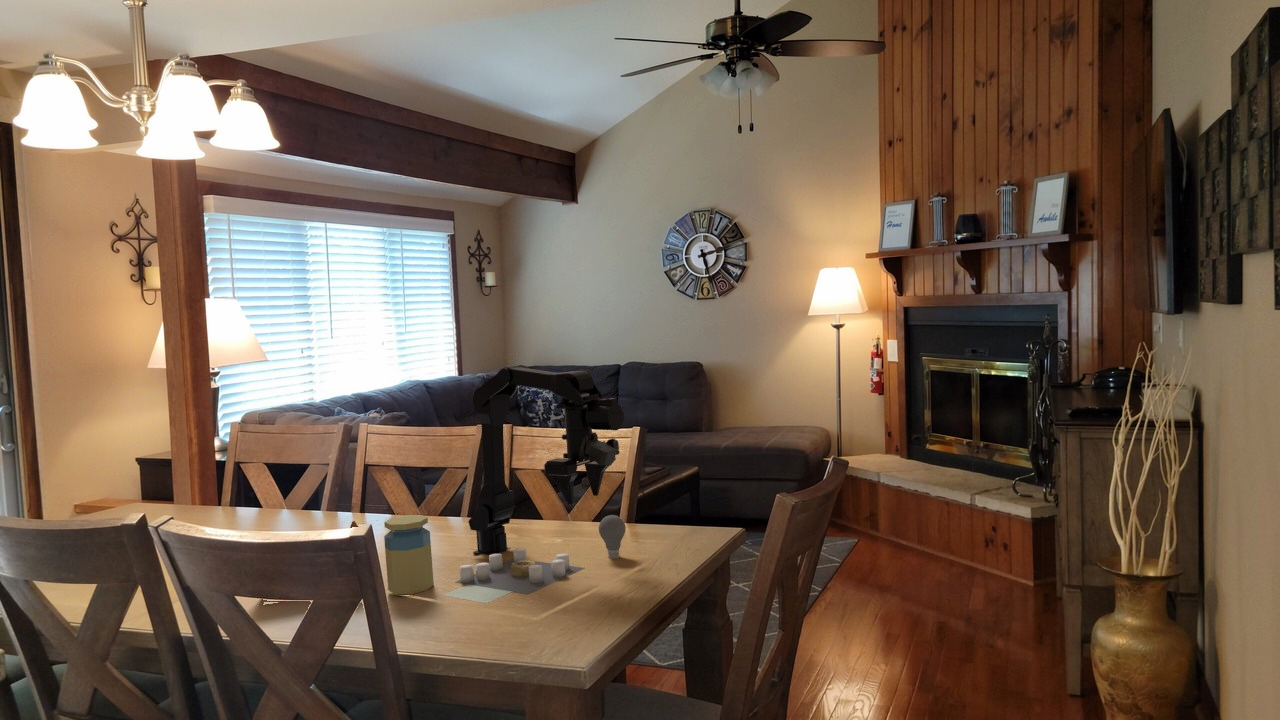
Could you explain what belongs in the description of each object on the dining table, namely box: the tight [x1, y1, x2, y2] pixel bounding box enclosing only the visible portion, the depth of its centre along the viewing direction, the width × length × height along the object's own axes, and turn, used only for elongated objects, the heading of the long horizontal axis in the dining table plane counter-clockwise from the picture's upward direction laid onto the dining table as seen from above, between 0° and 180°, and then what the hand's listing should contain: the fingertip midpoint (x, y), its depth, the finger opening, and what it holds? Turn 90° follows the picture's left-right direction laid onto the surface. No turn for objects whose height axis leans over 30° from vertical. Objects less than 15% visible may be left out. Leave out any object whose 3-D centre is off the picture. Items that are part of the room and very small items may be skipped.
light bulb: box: [598, 514, 627, 560], centre depth 203 cm, size 6×6×10 cm
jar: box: [383, 514, 435, 596], centre depth 189 cm, size 9×9×15 cm
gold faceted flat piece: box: [510, 559, 535, 578], centre depth 194 cm, size 6×5×2 cm
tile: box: [442, 584, 512, 604], centre depth 183 cm, size 12×8×1 cm, turn 57°
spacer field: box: [454, 547, 585, 595], centre depth 193 cm, size 20×19×4 cm
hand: (583, 500), depth 199 cm, fingers open, 9 cm apart
